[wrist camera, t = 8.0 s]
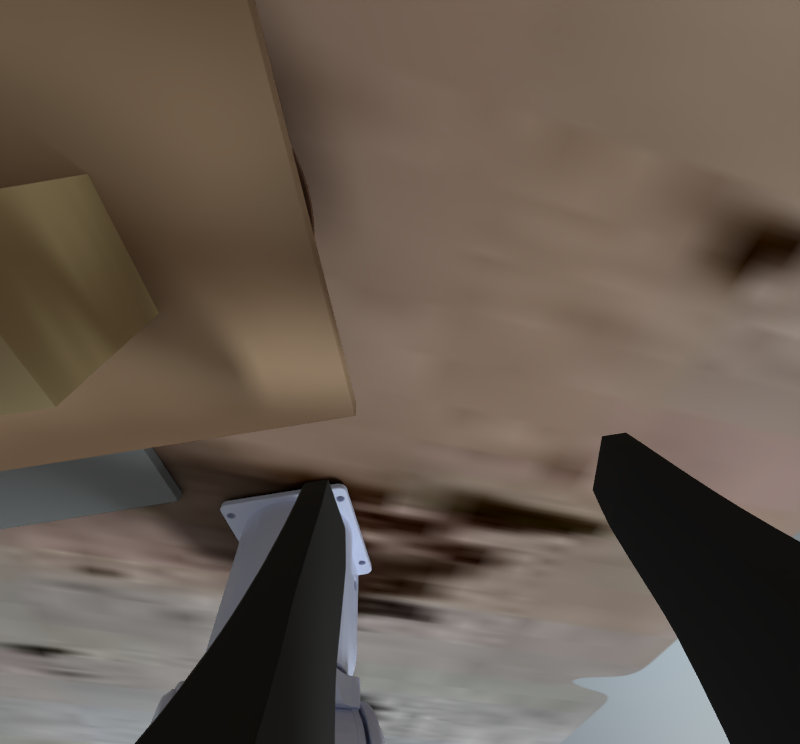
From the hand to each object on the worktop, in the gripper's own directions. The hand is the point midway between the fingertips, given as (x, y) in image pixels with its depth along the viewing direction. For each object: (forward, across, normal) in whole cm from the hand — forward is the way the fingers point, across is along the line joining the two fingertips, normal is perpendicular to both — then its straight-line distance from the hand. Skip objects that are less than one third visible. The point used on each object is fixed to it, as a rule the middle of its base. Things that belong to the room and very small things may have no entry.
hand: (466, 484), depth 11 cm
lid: (+4, +10, -7) cm, 12 cm away
